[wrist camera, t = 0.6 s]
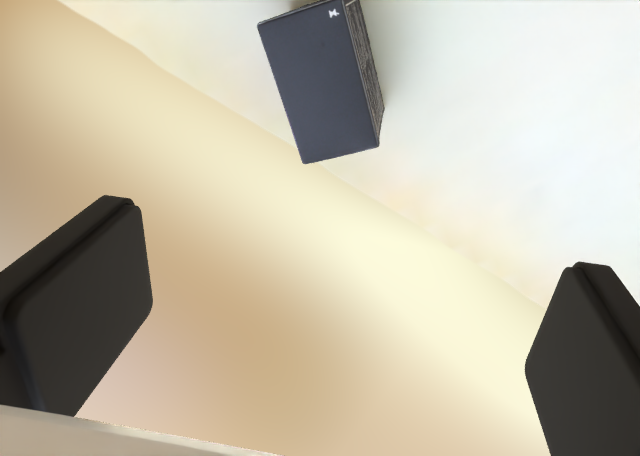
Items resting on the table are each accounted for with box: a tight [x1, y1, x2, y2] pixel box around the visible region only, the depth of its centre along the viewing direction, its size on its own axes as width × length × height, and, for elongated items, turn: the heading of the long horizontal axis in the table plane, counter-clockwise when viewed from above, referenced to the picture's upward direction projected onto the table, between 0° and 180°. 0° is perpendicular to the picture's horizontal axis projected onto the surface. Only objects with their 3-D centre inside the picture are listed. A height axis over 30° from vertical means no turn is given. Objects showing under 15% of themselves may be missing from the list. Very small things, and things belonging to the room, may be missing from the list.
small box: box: [257, 0, 384, 164], centre depth 36 cm, size 11×6×10 cm, turn 17°
